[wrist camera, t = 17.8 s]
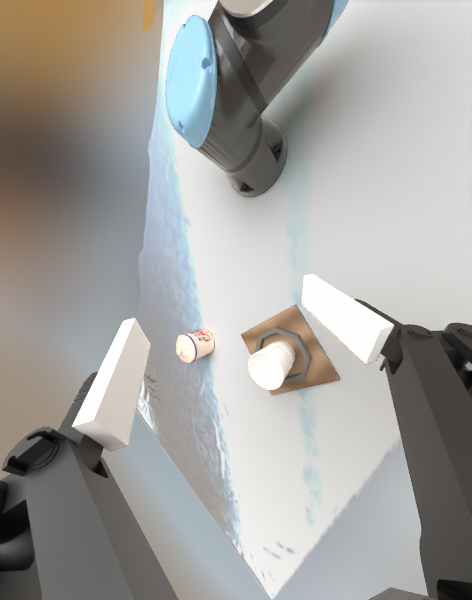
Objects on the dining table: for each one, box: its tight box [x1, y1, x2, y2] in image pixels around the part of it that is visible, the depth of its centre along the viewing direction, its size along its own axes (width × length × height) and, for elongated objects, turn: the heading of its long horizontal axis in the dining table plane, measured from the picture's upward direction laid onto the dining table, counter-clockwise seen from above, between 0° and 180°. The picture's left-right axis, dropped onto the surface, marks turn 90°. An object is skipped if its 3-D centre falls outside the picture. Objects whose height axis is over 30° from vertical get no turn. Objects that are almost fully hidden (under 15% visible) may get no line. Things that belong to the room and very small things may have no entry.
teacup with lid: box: [176, 329, 215, 363], centre depth 57 cm, size 12×9×12 cm
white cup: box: [248, 341, 295, 390], centre depth 39 cm, size 8×8×10 cm
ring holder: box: [241, 305, 339, 395], centre depth 43 cm, size 18×18×3 cm
